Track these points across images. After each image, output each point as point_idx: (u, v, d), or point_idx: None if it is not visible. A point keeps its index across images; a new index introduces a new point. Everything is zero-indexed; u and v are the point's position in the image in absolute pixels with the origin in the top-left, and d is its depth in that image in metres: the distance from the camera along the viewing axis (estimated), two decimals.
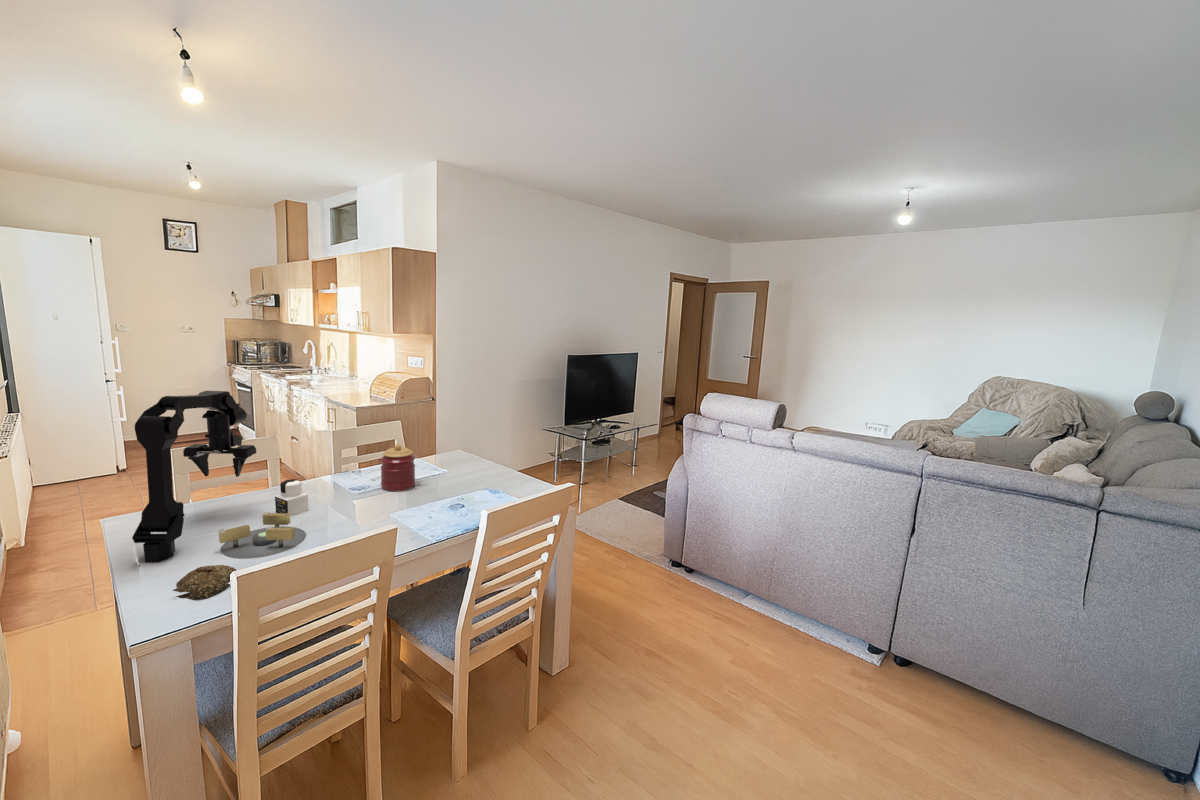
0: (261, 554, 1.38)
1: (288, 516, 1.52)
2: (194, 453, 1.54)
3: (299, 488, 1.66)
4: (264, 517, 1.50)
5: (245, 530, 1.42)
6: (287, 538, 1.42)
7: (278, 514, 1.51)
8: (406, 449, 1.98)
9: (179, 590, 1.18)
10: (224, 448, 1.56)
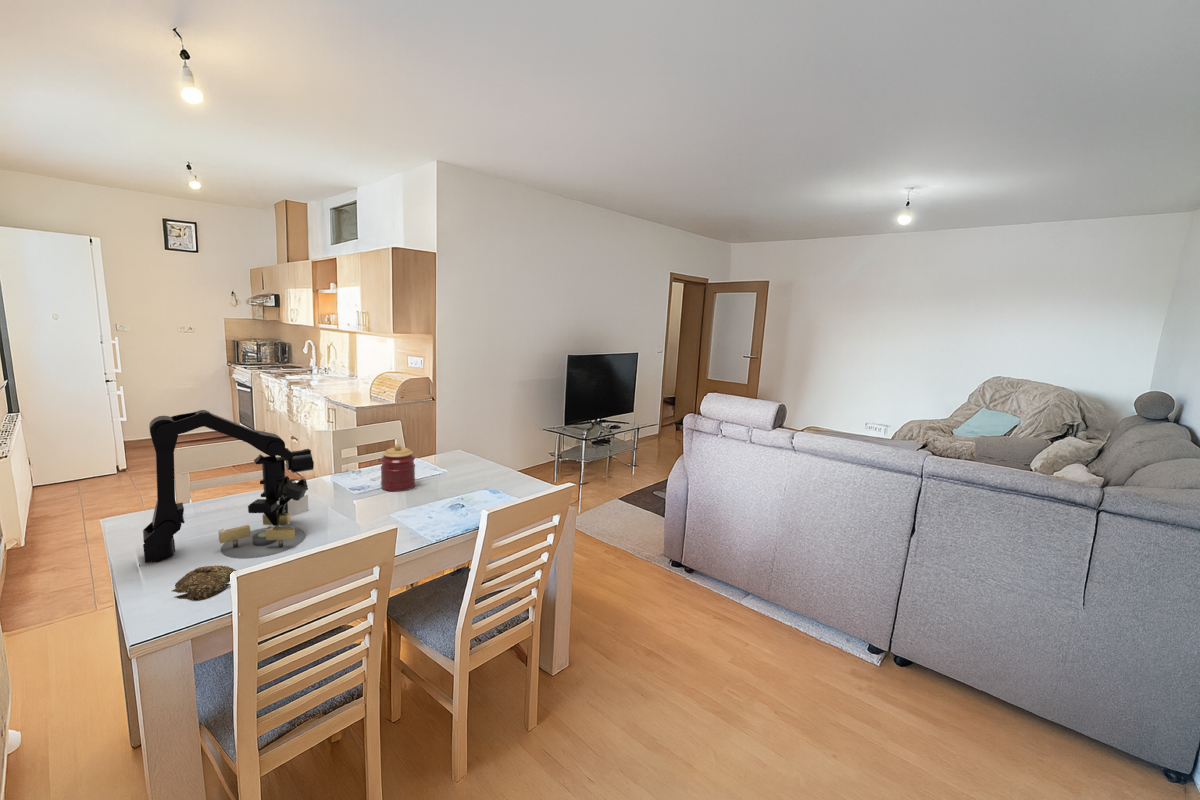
0: (261, 554, 1.38)
1: (288, 516, 1.52)
2: None
3: None
4: (264, 517, 1.50)
5: (245, 530, 1.42)
6: (287, 538, 1.42)
7: (278, 514, 1.51)
8: (406, 449, 1.98)
9: (178, 591, 1.18)
10: (263, 495, 1.48)
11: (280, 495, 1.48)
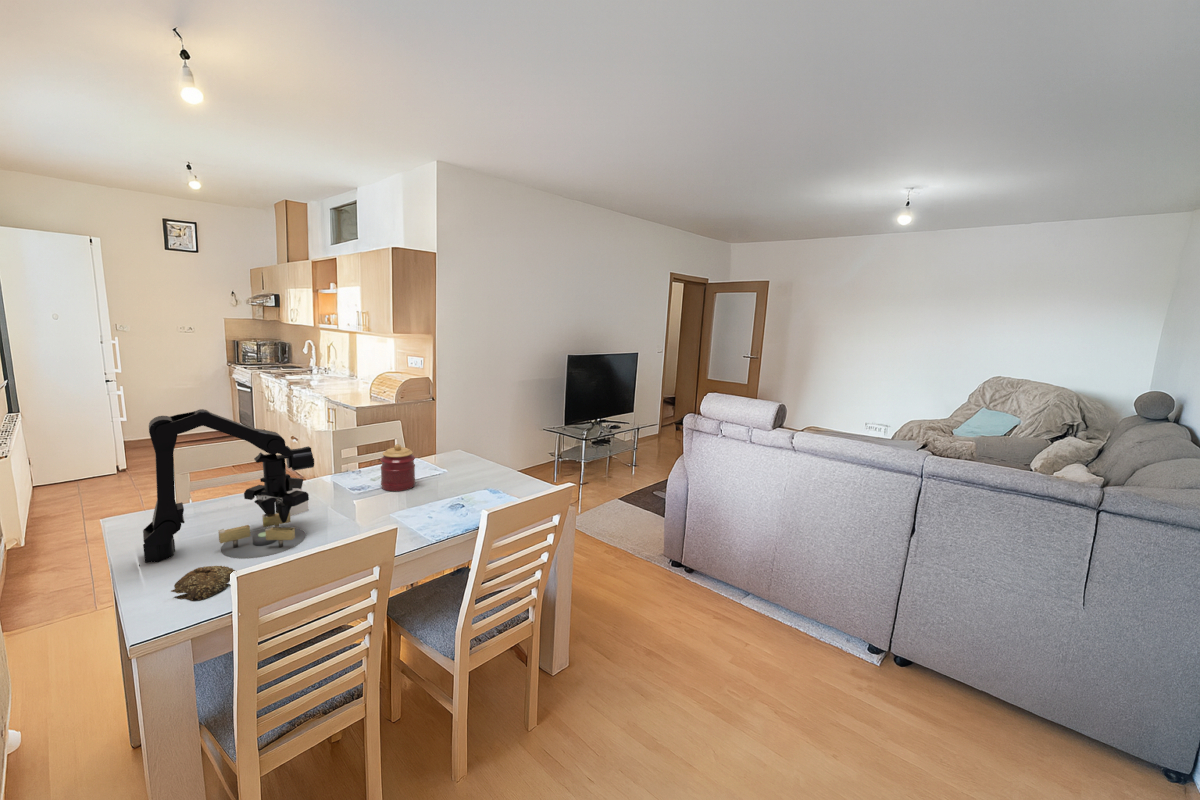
0: (261, 554, 1.38)
1: (289, 514, 1.53)
2: (252, 496, 1.49)
3: None
4: (265, 519, 1.49)
5: (245, 530, 1.42)
6: (287, 538, 1.42)
7: (278, 514, 1.52)
8: (406, 449, 1.98)
9: (177, 591, 1.18)
10: (277, 494, 1.48)
11: (291, 487, 1.52)
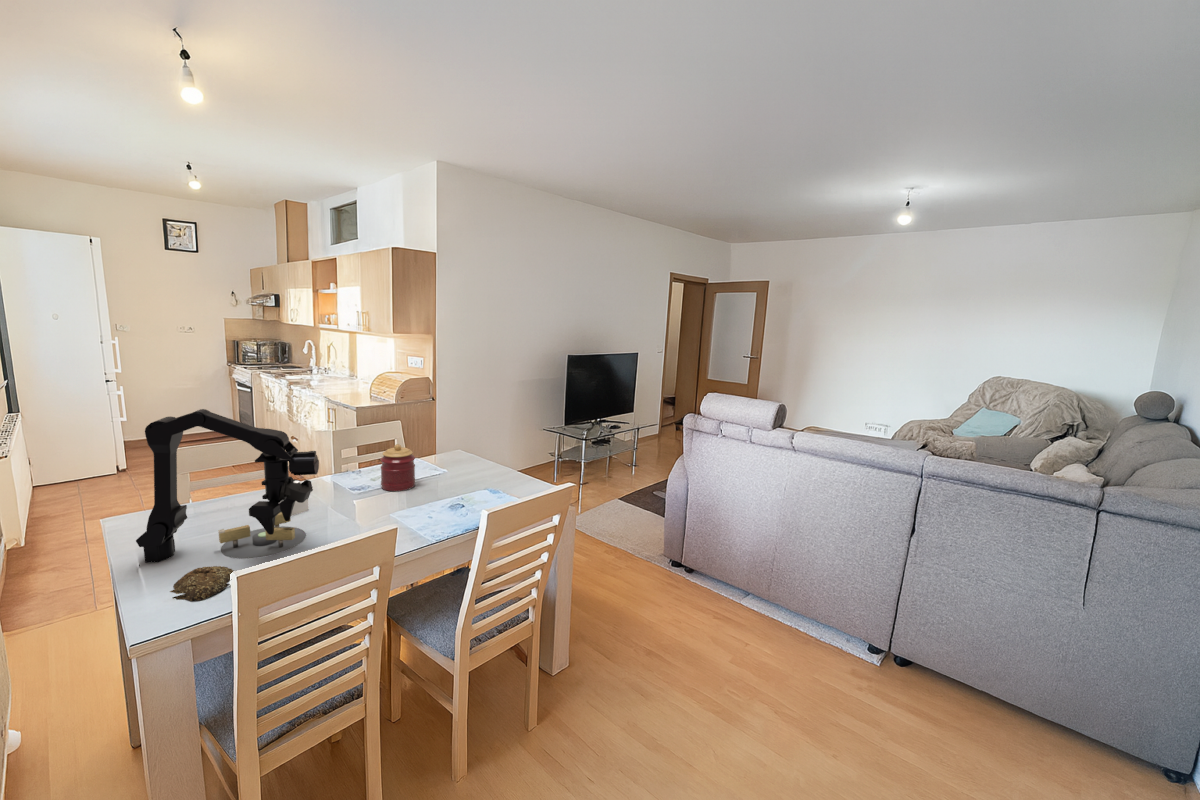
0: (261, 554, 1.38)
1: None
2: None
3: None
4: None
5: (245, 530, 1.42)
6: (287, 538, 1.42)
7: None
8: (406, 449, 1.98)
9: (176, 591, 1.18)
10: (265, 497, 1.37)
11: (283, 497, 1.38)
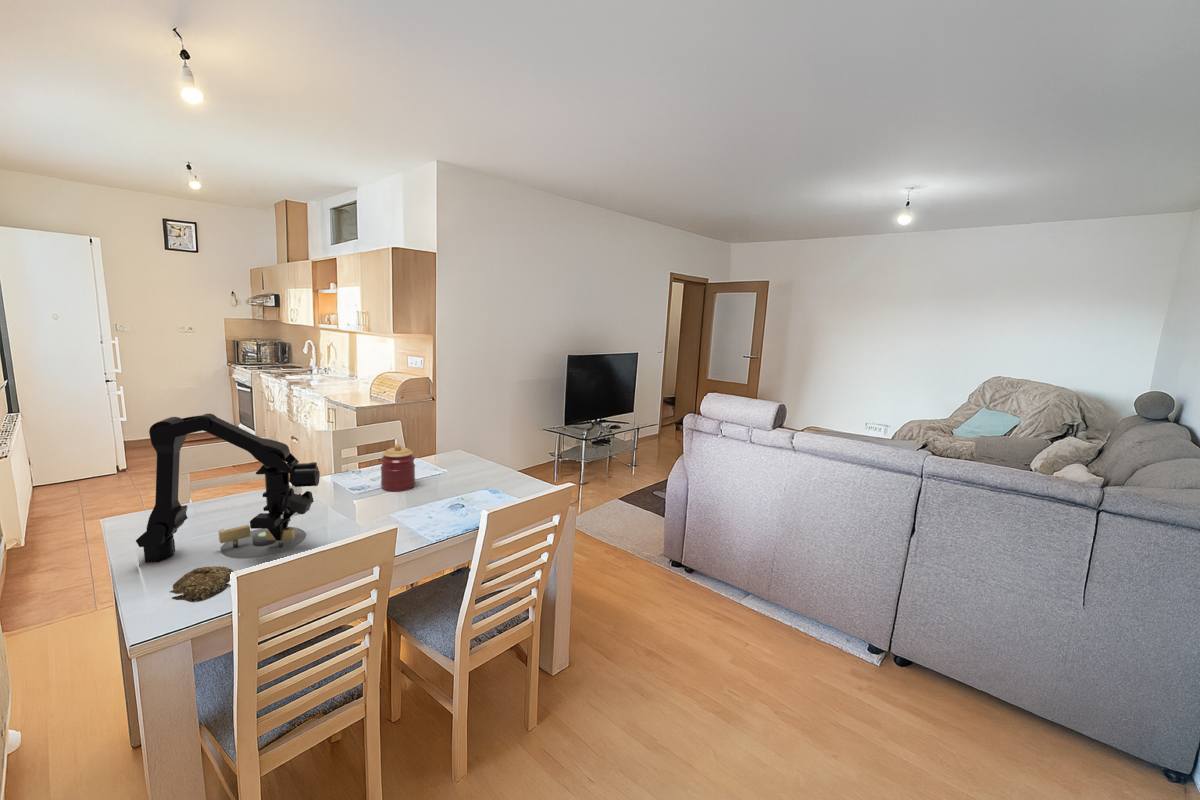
0: (261, 554, 1.38)
1: None
2: None
3: (299, 488, 1.66)
4: None
5: (245, 530, 1.42)
6: (287, 538, 1.42)
7: None
8: (406, 449, 1.98)
9: (176, 592, 1.18)
10: (266, 509, 1.38)
11: (284, 509, 1.38)
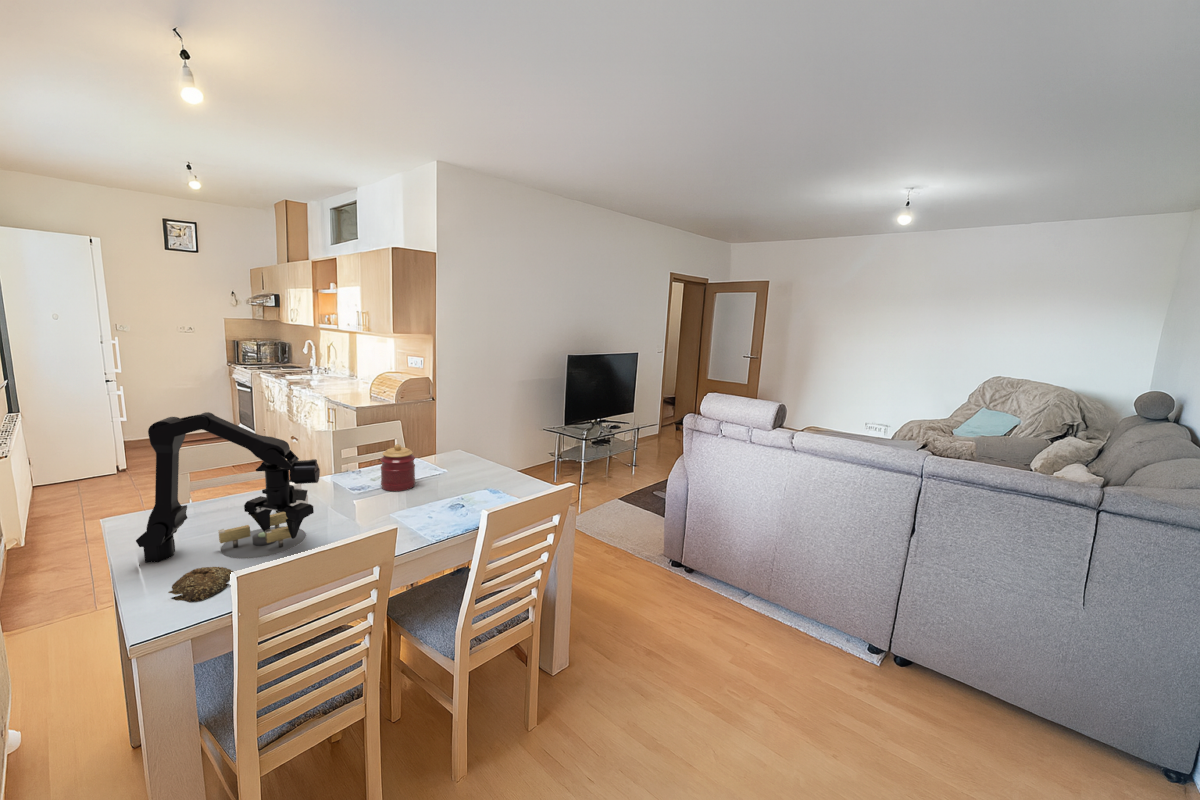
0: (261, 554, 1.38)
1: None
2: (253, 509, 1.39)
3: (299, 488, 1.66)
4: None
5: (245, 530, 1.42)
6: (290, 535, 1.43)
7: (278, 513, 1.52)
8: (406, 449, 1.98)
9: (175, 592, 1.18)
10: (279, 506, 1.38)
11: (295, 500, 1.43)
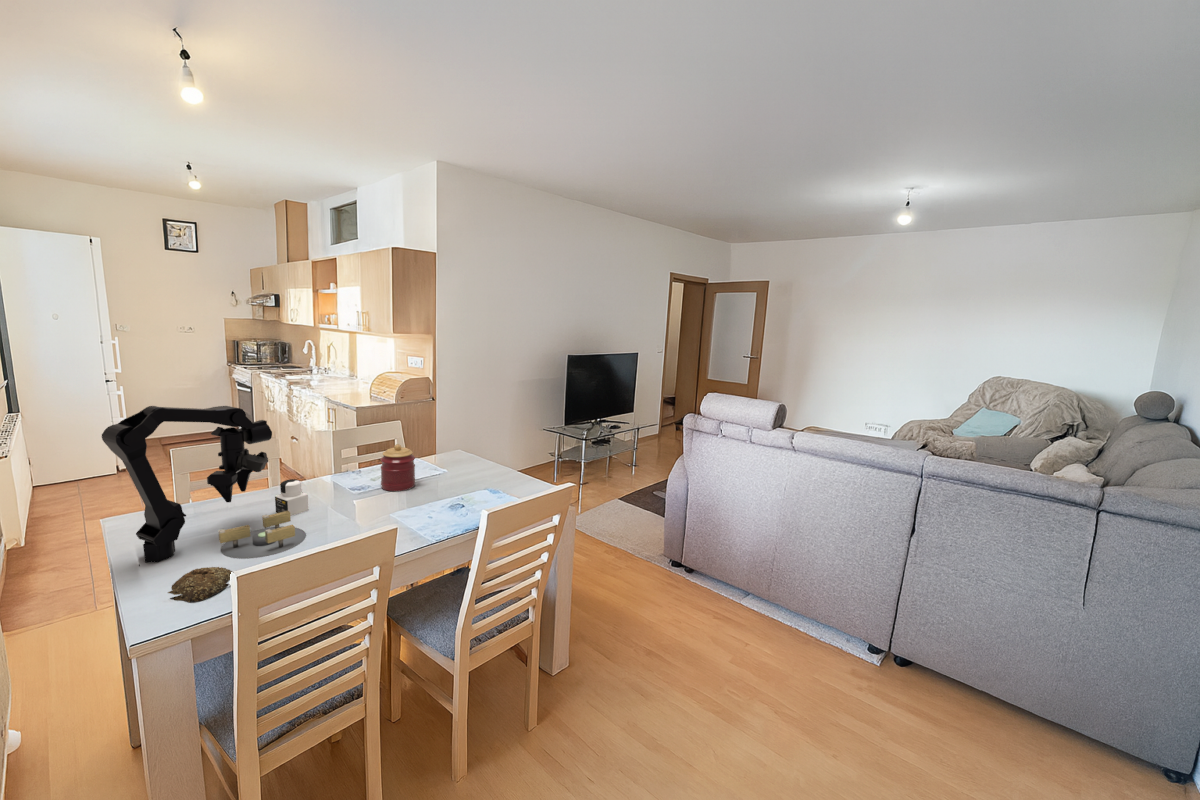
0: (261, 554, 1.38)
1: None
2: None
3: (299, 488, 1.66)
4: (266, 519, 1.49)
5: (245, 530, 1.42)
6: (290, 535, 1.43)
7: (278, 513, 1.52)
8: (406, 449, 1.98)
9: (174, 592, 1.17)
10: (222, 468, 1.46)
11: (240, 467, 1.47)
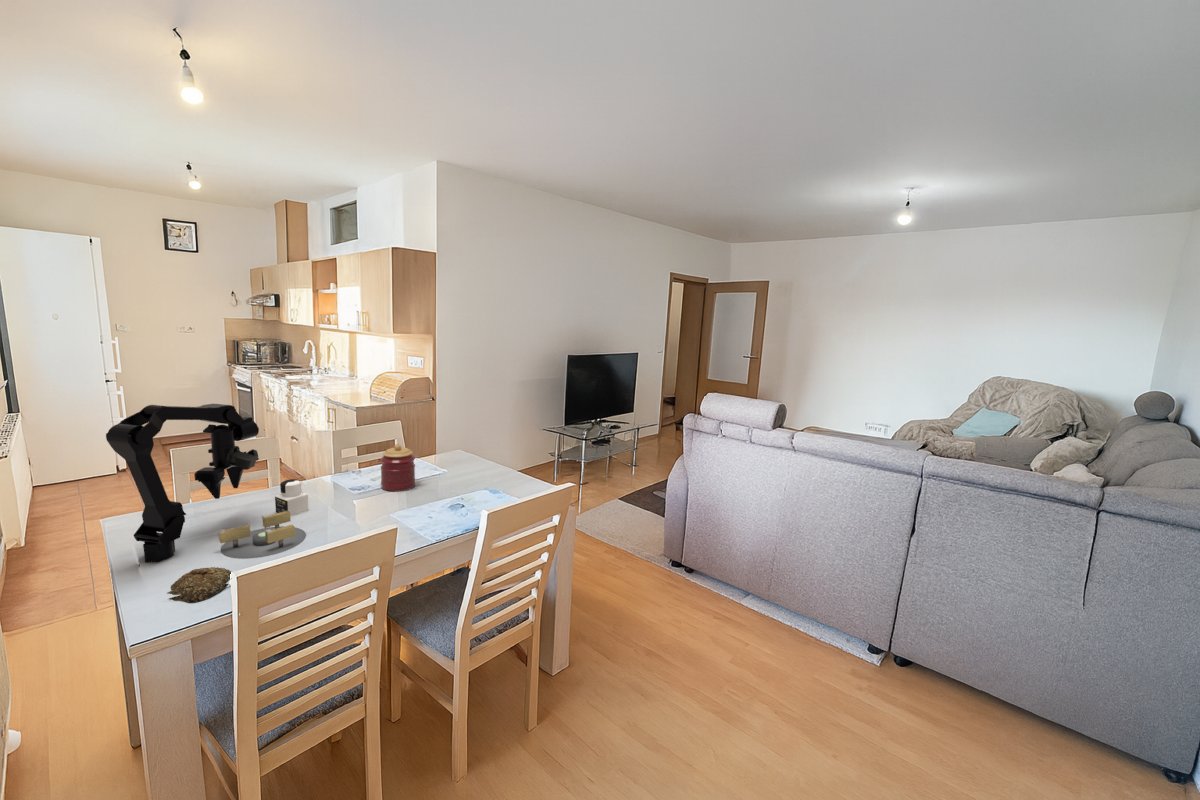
0: (261, 554, 1.38)
1: None
2: None
3: (299, 488, 1.66)
4: (266, 519, 1.49)
5: (245, 530, 1.42)
6: (290, 535, 1.43)
7: (278, 513, 1.52)
8: (406, 449, 1.98)
9: (173, 593, 1.17)
10: (212, 464, 1.48)
11: (229, 464, 1.48)
